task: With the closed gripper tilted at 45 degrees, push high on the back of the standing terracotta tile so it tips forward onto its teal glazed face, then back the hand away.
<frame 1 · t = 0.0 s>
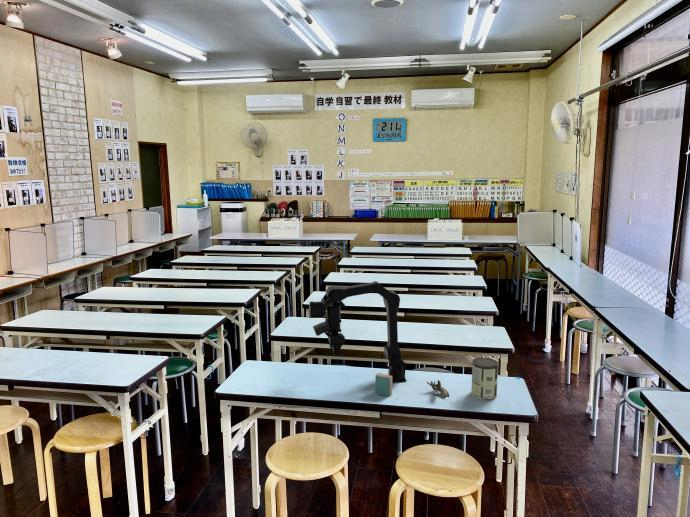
hand: (333, 352, 216), 15 cm above the table, tool pointing down, fingers open, 9 cm apart
coffee can: (483, 395, 209), on the table
antlered deer figurine: (438, 395, 209), on the table
glazed tile: (384, 392, 211), on the table
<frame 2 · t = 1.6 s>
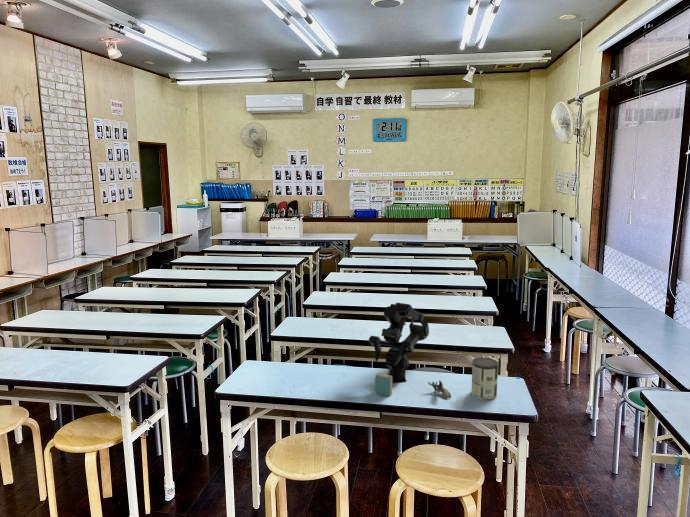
hand: (385, 362, 210), 12 cm above the table, tool tilted 45°, fingers open, 8 cm apart
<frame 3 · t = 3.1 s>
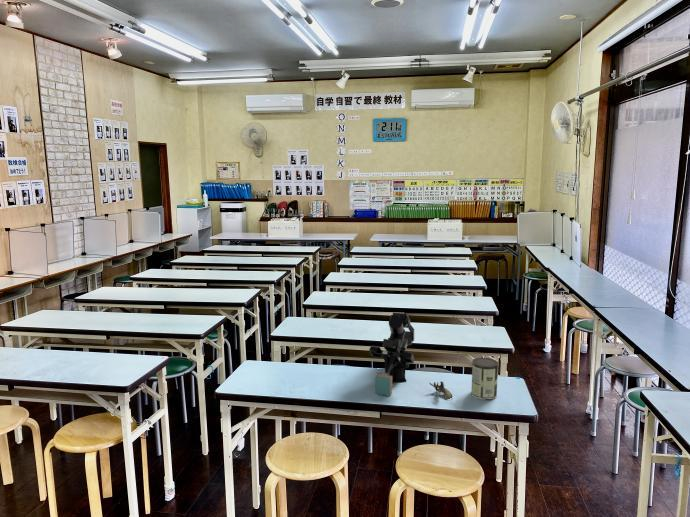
hand: (386, 373, 211), 8 cm above the table, tool tilted 45°, fingers closed
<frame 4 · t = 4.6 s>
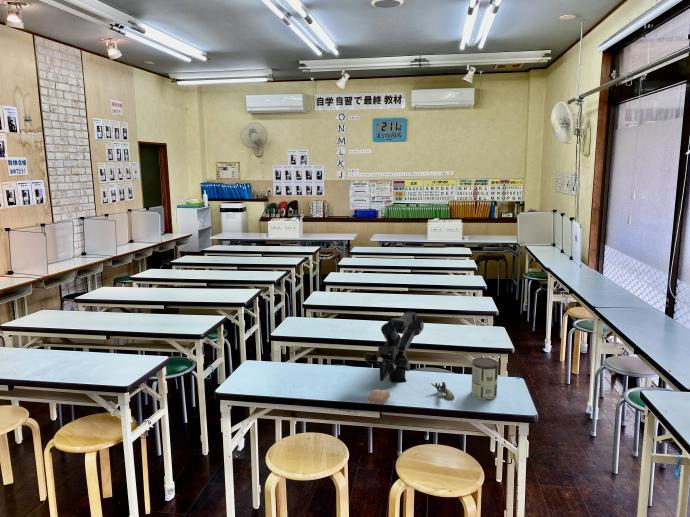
hand: (381, 380, 206), 7 cm above the table, tool tilted 45°, fingers closed
glazed tile: (382, 390, 208), point 2 cm above the table, tilted 90°
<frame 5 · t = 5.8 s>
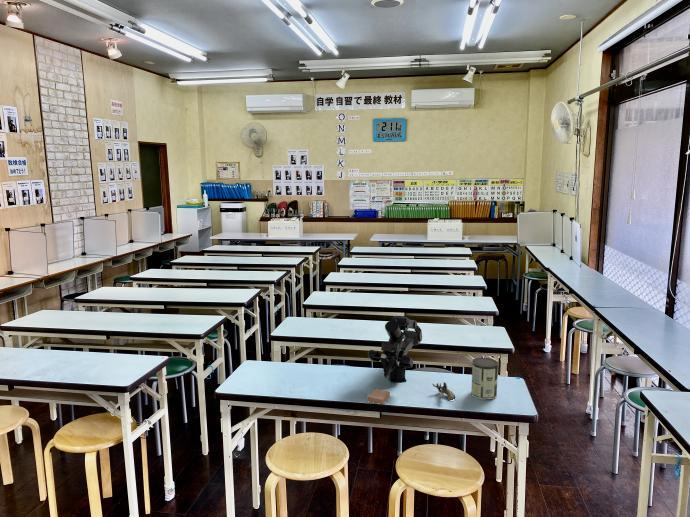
hand: (384, 377, 210), 7 cm above the table, tool tilted 45°, fingers closed
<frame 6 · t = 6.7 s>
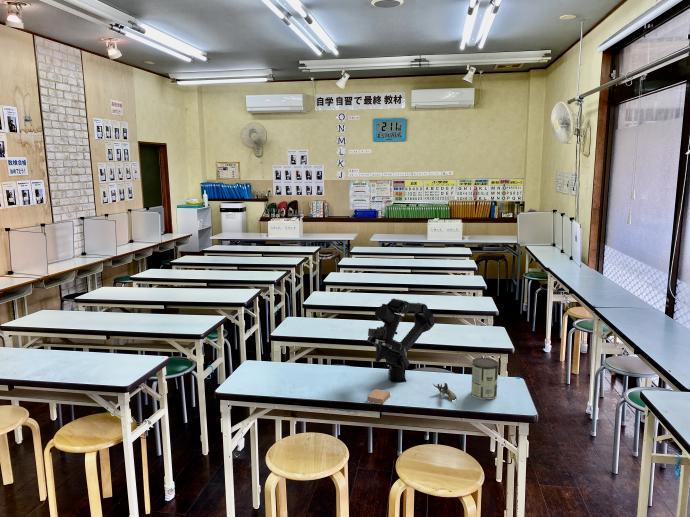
hand: (376, 361, 212), 12 cm above the table, tool tilted 35°, fingers closed
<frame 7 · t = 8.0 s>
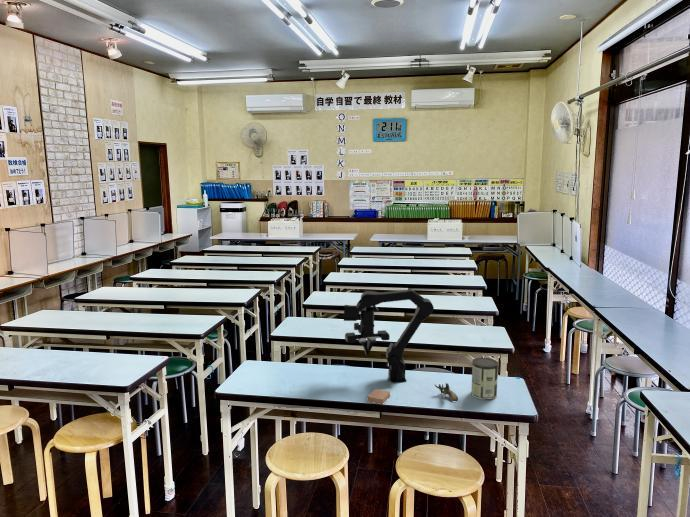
hand: (367, 355, 223), 11 cm above the table, tool pointing down, fingers closed
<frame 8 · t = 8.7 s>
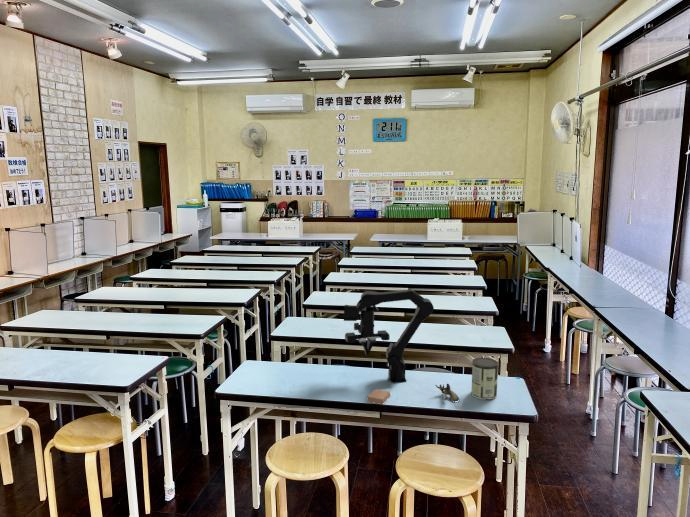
hand: (367, 355, 223), 11 cm above the table, tool pointing down, fingers closed
at the end: glazed tile tilted 90°; glazed tile point 2.1 cm above the table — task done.
